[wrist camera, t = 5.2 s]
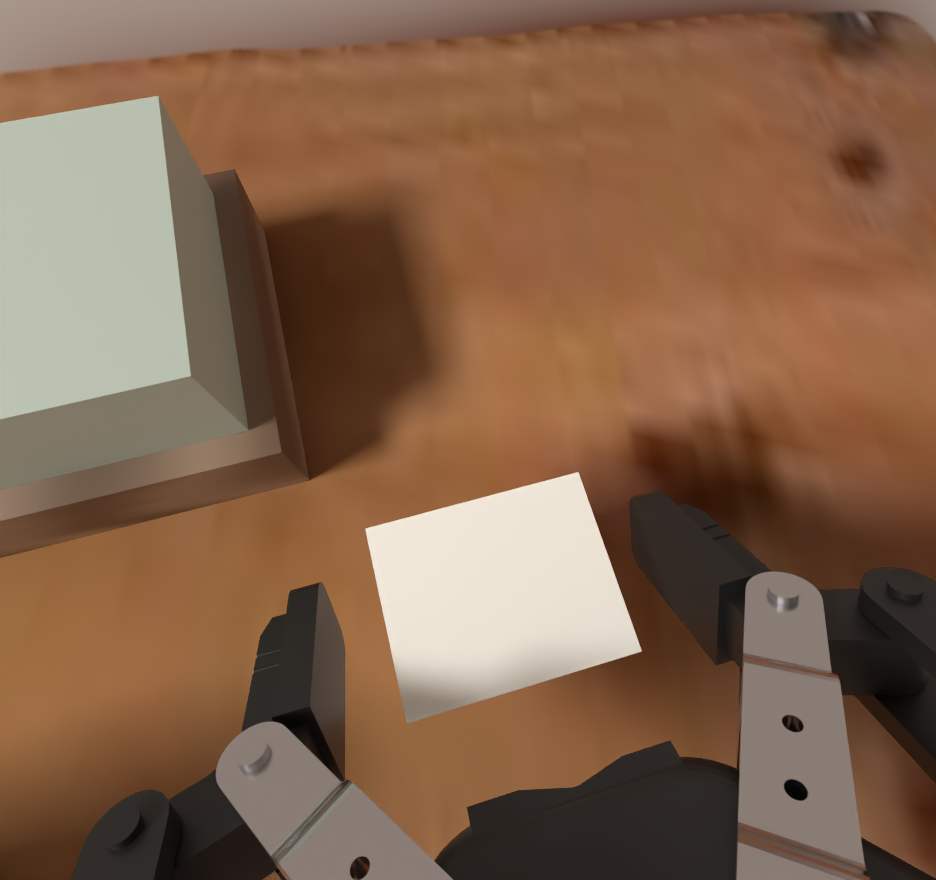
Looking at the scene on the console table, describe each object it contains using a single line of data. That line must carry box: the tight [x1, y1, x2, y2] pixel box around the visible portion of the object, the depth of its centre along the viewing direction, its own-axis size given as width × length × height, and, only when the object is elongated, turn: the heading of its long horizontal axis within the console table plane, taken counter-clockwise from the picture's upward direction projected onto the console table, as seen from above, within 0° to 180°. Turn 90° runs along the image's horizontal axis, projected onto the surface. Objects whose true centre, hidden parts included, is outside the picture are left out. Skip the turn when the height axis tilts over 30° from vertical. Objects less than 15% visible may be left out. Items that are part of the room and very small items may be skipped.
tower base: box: [0, 169, 309, 558], centre depth 20 cm, size 12×12×4 cm
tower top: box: [0, 96, 249, 490], centre depth 17 cm, size 10×10×4 cm
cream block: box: [365, 472, 642, 723], centre depth 15 cm, size 5×4×8 cm
